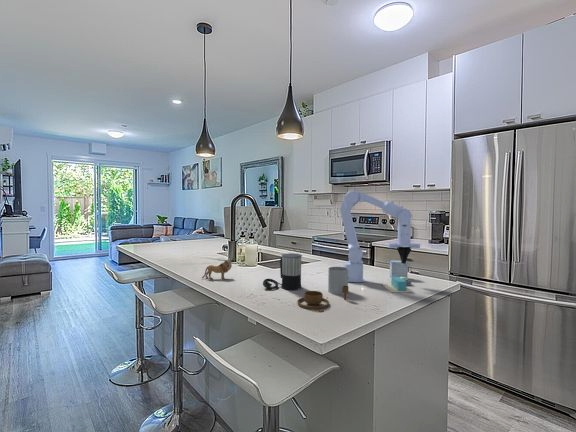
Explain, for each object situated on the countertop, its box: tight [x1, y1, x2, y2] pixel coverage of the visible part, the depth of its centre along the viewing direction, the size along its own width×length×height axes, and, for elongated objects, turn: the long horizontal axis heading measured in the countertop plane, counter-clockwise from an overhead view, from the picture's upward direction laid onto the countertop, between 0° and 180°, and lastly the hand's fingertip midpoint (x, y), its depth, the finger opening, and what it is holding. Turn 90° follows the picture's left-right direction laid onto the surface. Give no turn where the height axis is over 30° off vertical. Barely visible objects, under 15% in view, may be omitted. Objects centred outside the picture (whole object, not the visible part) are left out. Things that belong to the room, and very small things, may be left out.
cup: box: [327, 266, 349, 295], centre depth 139 cm, size 8×8×10 cm
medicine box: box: [389, 260, 409, 279], centre depth 164 cm, size 8×4×9 cm, turn 84°
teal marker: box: [390, 277, 407, 291], centre depth 145 cm, size 3×11×4 cm, turn 1°
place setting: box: [296, 285, 349, 313], centre depth 121 cm, size 18×20×6 cm
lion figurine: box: [201, 259, 233, 280], centre depth 162 cm, size 15×5×9 cm, turn 104°
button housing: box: [406, 278, 412, 286], centre depth 152 cm, size 5×5×2 cm
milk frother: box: [262, 252, 303, 291], centre depth 145 cm, size 14×16×15 cm
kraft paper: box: [382, 284, 412, 293], centre depth 144 cm, size 9×12×1 cm
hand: (403, 263), depth 152 cm, fingers closed
